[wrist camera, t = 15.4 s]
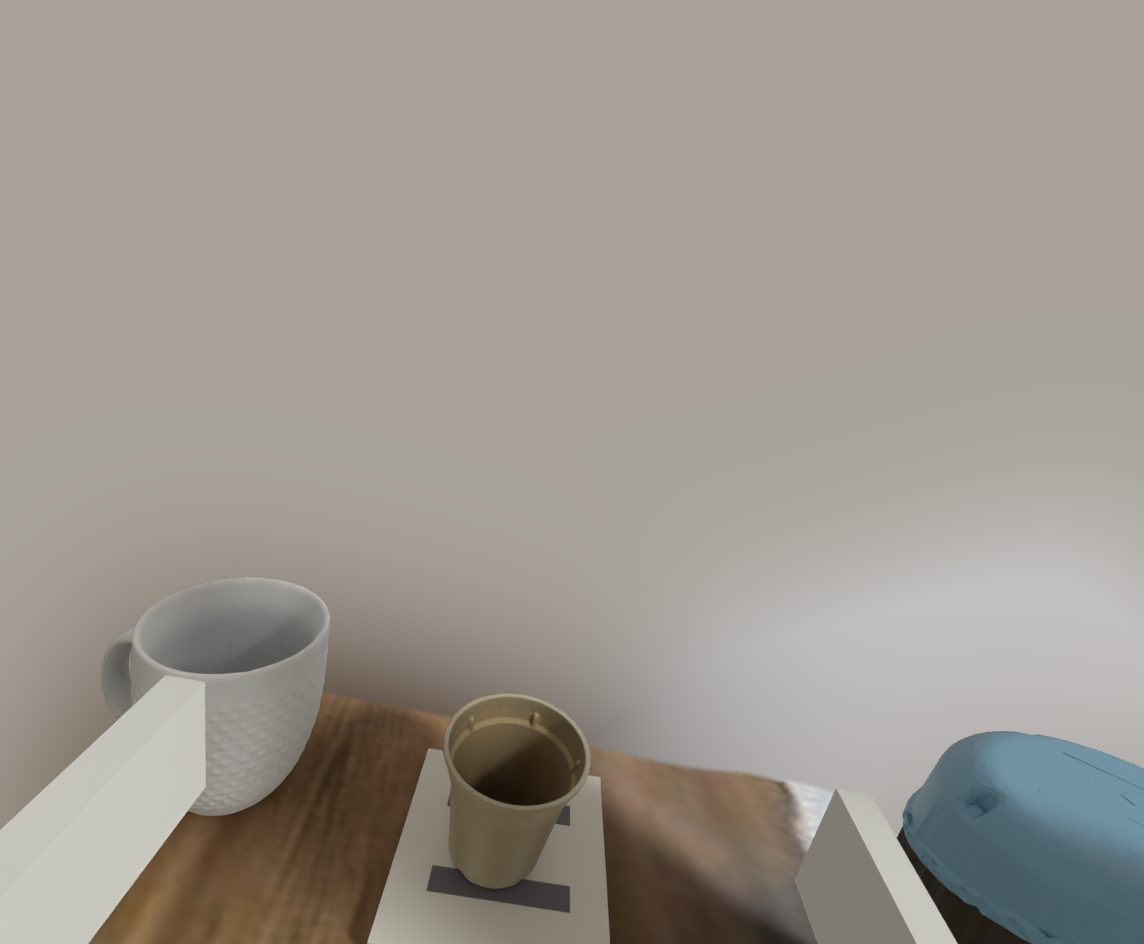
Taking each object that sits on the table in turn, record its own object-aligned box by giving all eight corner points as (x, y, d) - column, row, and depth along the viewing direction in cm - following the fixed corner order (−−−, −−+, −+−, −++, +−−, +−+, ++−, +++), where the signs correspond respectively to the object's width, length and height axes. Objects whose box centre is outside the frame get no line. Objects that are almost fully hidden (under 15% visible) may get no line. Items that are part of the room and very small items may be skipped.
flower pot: (530, 773, 44) (552, 683, 42) (587, 888, 37) (618, 786, 34) (410, 803, 40) (426, 704, 37) (446, 943, 32) (470, 829, 29)
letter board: (596, 788, 46) (600, 776, 45) (607, 991, 32) (612, 977, 32) (426, 759, 45) (428, 747, 44) (364, 957, 31) (367, 941, 31)
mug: (32, 805, 35) (15, 628, 31) (172, 692, 46) (172, 549, 42) (253, 870, 34) (263, 698, 31) (344, 740, 45) (361, 599, 41)
